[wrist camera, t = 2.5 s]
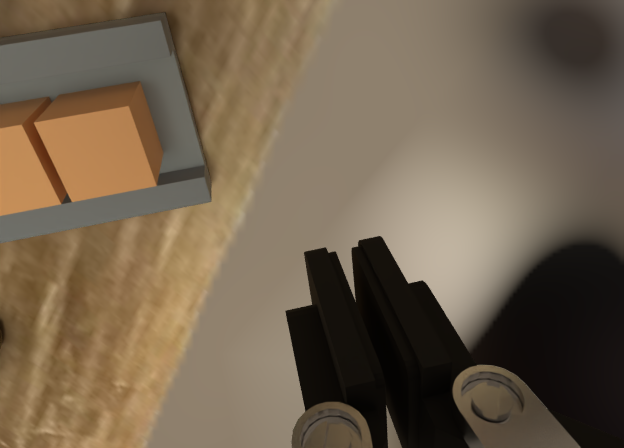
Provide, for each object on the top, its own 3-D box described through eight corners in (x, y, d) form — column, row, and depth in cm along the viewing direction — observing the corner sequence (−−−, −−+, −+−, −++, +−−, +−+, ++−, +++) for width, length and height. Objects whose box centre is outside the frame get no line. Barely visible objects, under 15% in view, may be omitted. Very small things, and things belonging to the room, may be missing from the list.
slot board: (-114, 55, 21) (-149, 69, 19) (164, 12, 23) (160, 20, 21) (-10, 224, 27) (-28, 248, 25) (211, 181, 28) (211, 201, 26)
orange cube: (59, 94, 23) (33, 122, 19) (139, 81, 23) (128, 105, 20) (90, 166, 25) (72, 202, 22) (163, 152, 25) (156, 186, 22)
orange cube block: (-36, 110, 22) (-78, 141, 19) (48, 96, 23) (21, 124, 19) (4, 181, 25) (-27, 221, 21) (80, 168, 25) (61, 204, 22)
